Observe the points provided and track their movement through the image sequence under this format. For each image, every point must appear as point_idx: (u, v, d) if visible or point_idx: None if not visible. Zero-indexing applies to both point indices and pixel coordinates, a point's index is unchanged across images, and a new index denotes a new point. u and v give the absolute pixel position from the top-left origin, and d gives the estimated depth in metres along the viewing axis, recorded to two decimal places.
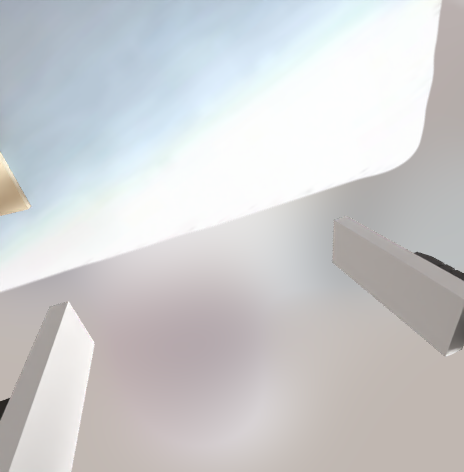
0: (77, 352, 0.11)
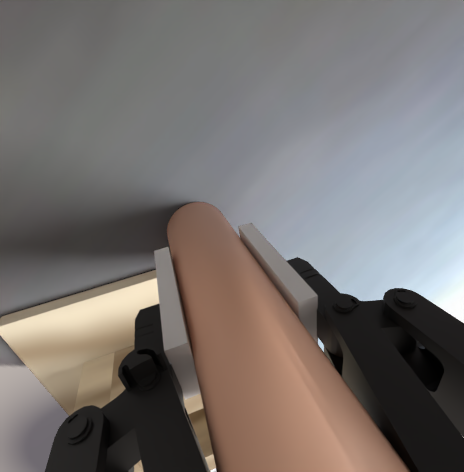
0: None
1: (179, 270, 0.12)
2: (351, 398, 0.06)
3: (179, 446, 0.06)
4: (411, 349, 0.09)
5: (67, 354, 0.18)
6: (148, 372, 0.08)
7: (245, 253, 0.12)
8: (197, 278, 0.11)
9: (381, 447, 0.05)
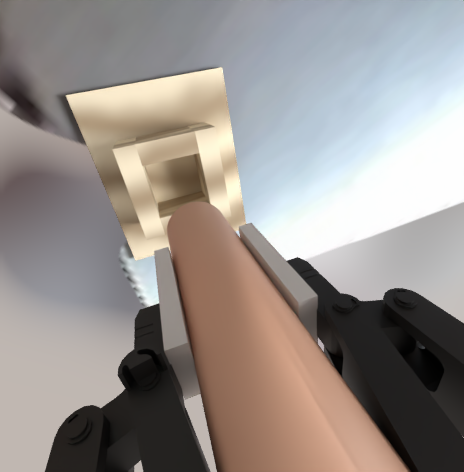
0: None
1: (179, 269, 0.13)
2: (348, 393, 0.06)
3: (179, 446, 0.06)
4: (411, 349, 0.09)
5: (106, 130, 0.28)
6: (148, 372, 0.08)
7: (244, 252, 0.12)
8: (196, 276, 0.11)
9: (377, 441, 0.05)
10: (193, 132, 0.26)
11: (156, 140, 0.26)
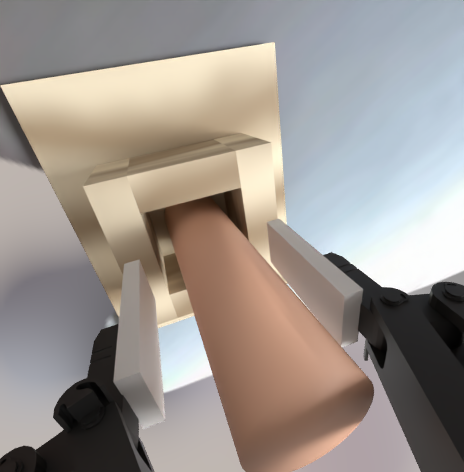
0: (149, 300, 0.13)
1: (177, 241, 0.15)
2: (303, 306, 0.09)
3: None
4: (456, 344, 0.09)
5: (79, 147, 0.17)
6: (90, 408, 0.07)
7: (231, 225, 0.15)
8: (192, 242, 0.13)
9: (318, 327, 0.08)
10: (233, 152, 0.15)
11: (166, 168, 0.14)
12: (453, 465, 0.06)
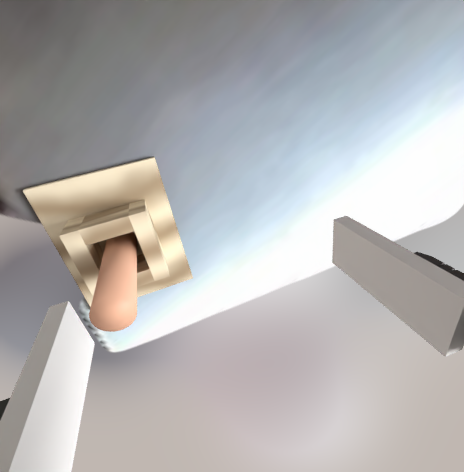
0: (77, 352, 0.11)
1: (102, 257, 0.33)
2: (125, 281, 0.26)
3: None
4: None
5: (59, 213, 0.34)
6: None
7: (125, 249, 0.32)
8: (104, 258, 0.31)
9: (123, 286, 0.25)
10: (127, 216, 0.32)
11: (96, 225, 0.32)
12: None
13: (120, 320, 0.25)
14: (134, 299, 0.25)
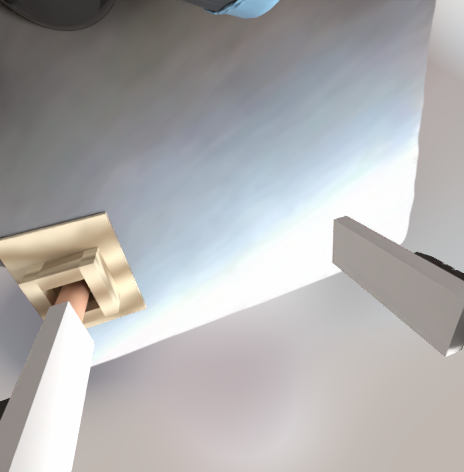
0: (77, 352, 0.11)
1: (56, 300, 0.39)
2: None
3: None
4: None
5: (22, 260, 0.40)
6: None
7: (75, 295, 0.38)
8: (55, 304, 0.37)
9: None
10: (77, 268, 0.38)
11: (50, 275, 0.38)
12: None
13: None
14: None
